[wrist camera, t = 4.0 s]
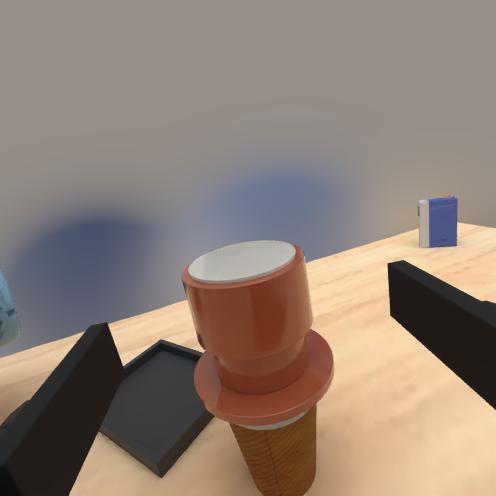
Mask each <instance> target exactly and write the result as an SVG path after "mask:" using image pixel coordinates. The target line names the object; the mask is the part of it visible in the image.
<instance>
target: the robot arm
mask: <svg viewBox="0 0 496 496" xmlns="http://www.w3.org/2000/svg"><path fill="white" fill-rule="evenodd" d="M388 281H389V298H390V316H392V317H393V318H394V319H395V320H396V321H397V322H398V323H399V324H401V325H402V326H403V327H404V328H405V329H406V330H407V331H408V332H409V333H411V334H412V335H413V336H414V337H415V338H416V339H417V340H418V341H419V342H421V343H422V344H423V345H424V346H425V347H426V348H427V349H428V350H429V351H431V352H432V353H433V354H434V355H435V356H436V357H437V358H438V359H440V360H441V361H442V362H443V363H444V364H445V365H446V366H447V367H448V368H450V369H451V370H452V371H453V372H454V373H455V374H456V375H457V376H458V377H460V378H461V379H462V380H463V381H464V382H465V383H466V384H467V385H469V386H470V387H471V388H472V389H473V390H474V391H475V392H476V393H477V394H479V395H480V396H481V397H482V398H483V399H484V400H485V401H486V402H487V403H489V404H490V405H491V406H492V407H493V408H494V409H495V410H496V303H492V302H489V301H480V300H478V299H476V298H474V297H472V296H470V295H468V294H467V293H465V292H463V291H461V290H459V289H457V288H455V287H453V286H451V285H450V284H448V283H446V282H444V281H442V280H440V279H438V278H436V277H434V276H433V275H431V274H429V273H427V272H425V271H423V270H421V269H419V268H417V267H416V266H414V265H412V264H410V263H408V262H406V261H404V260H401V261H397V262H392V263H388ZM20 333H21V327H20V322H19V318H18V315H17V312H16V310H15V306H14V302H13V299H12V296H11V293H10V290H9V287H8V285H7V282H6V279H5V277H4V275H3V272H2V270H1V268H0V348H1V347H3V346H5V345H7V344H9V343H12V342H13V341H15V340H16V339H17V338H18V337H19V335H20ZM124 374H125V370H124V368H123V365H122V362H121V359H120V357H119V354H118V351H117V348H116V346H115V343H114V340H113V337H112V335H111V332H110V329H109V326H108V324H107V322H106V323H101V324H96V325H92V326H90V327H89V328H88V329H87V330H86V332H85V333H84V334H83V335H82V336H81V338H80V339H79V340H78V341H77V343H76V344H75V345H74V346H73V348H72V349H71V350H70V351H69V352H68V354H67V355H66V356H65V357H64V359H63V360H62V361H61V362H60V364H59V365H58V366H57V367H56V368H55V370H54V371H53V372H52V373H51V375H50V376H49V377H48V378H47V380H46V381H45V382H44V383H43V385H42V386H41V387H40V388H39V389H38V391H37V392H36V393H35V394H34V396H33V397H32V398H31V399H30V400H28V401H26V402H24V403H23V404H22V405H21V406H20V407H18V408H17V409H16V410H15V411H14V412H12V413H11V414H10V415H9V416H8V418H7V419H6V420H5V421H4V422H3V423H2V425H1V426H0V496H69V494H70V492H71V489H72V487H73V485H74V483H75V481H76V479H77V476H78V474H79V472H80V470H81V468H82V466H83V463H84V461H85V459H86V457H87V455H88V453H89V450H90V448H91V446H92V444H93V442H94V440H95V437H96V435H97V433H98V431H99V429H100V427H101V424H102V422H103V420H104V418H105V416H106V413H107V411H108V409H109V407H110V405H111V403H112V400H113V398H114V396H115V394H116V392H117V390H118V387H119V385H120V383H121V381H122V379H123V377H124Z"/></svg>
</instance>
